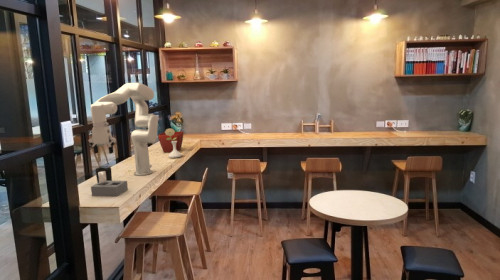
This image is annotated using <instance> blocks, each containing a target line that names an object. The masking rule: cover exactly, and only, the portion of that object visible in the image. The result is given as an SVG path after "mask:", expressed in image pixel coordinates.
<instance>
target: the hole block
mask: <svg viewBox="0 0 500 280" xmlns="http://www.w3.org/2000/svg"><path fill="white" fill-rule="evenodd" d="M128 188H129V187H128V180H112V181H107V184H105V185H99V183H95V184H93V185H92V186H90V190H91V196H93V197H118V196H121V194H123V193H125V192H127V191H128V190H129V189H128Z"/></svg>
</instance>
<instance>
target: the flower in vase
mask: <svg viewBox="0 0 500 280" xmlns="http://www.w3.org/2000/svg"><path fill="white" fill-rule="evenodd" d="M164 132H165V134H166V135H167V136H168V135H169V136H170V137H171V135H174V133H175V132H176V131H175V129H174V128H166V129H165V131H164ZM176 138H177V137H176ZM176 138H174V139H173V140H175V139H176ZM170 139H171V138H167V139H166V140H170ZM171 142H172V144H173V151H172V152H169V154H168V157H169V158H170V159H171V158H172V159H176V158H181V157H182V156H183V154H182V153H181V152H180V150H179V151H177V150H176V142H177V141H171Z"/></svg>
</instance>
